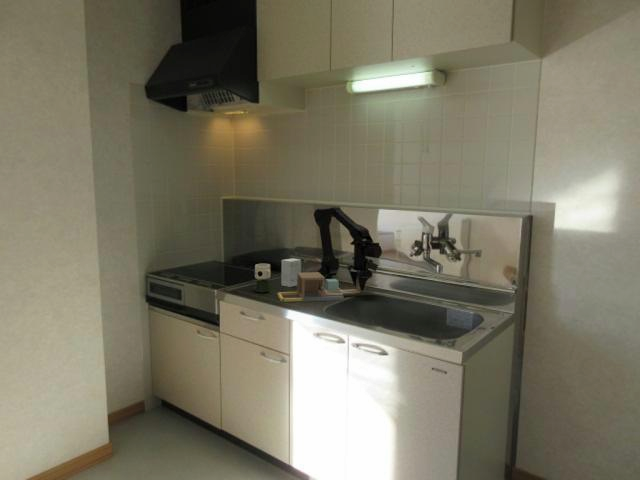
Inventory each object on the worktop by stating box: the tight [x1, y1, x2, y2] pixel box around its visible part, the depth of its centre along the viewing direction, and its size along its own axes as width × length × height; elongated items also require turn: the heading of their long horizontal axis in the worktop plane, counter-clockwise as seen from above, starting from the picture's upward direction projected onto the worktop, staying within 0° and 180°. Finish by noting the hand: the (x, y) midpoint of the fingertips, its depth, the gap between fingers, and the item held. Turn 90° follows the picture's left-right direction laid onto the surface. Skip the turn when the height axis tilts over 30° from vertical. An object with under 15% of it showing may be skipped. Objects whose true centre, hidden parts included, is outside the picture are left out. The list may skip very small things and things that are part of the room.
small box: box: [280, 258, 302, 288], centre depth 233 cm, size 8×6×13 cm
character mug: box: [254, 263, 272, 294], centre depth 217 cm, size 11×7×13 cm, turn 46°
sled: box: [320, 279, 363, 296], centre depth 212 cm, size 8×18×6 cm, turn 104°
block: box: [325, 278, 340, 291], centre depth 211 cm, size 5×5×5 cm
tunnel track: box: [277, 271, 345, 303], centre depth 209 cm, size 12×28×10 cm, turn 104°
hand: (358, 288), depth 214 cm, fingers open, 9 cm apart
